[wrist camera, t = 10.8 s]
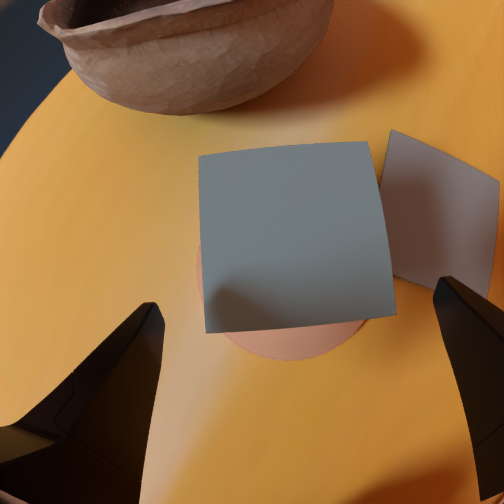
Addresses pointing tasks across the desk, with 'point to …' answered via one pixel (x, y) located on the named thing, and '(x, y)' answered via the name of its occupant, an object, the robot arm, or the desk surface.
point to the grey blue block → (292, 238)
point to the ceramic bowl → (185, 48)
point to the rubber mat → (438, 215)
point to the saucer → (289, 336)
